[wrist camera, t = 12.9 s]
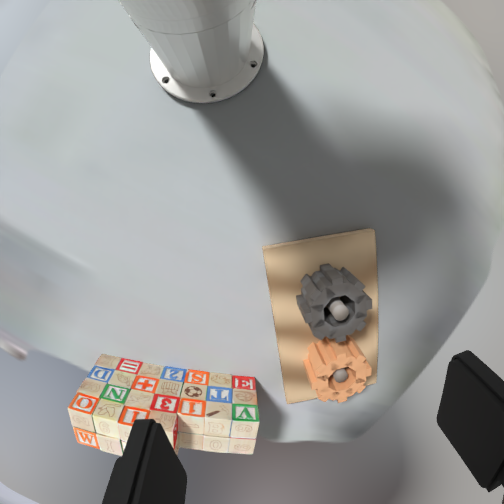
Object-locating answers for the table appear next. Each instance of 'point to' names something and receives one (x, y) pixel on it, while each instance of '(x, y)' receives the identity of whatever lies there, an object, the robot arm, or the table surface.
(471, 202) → the table surface
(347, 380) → the loose gear
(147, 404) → the stack of blocks
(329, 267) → the gear board
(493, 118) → the table surface
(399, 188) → the table surface
